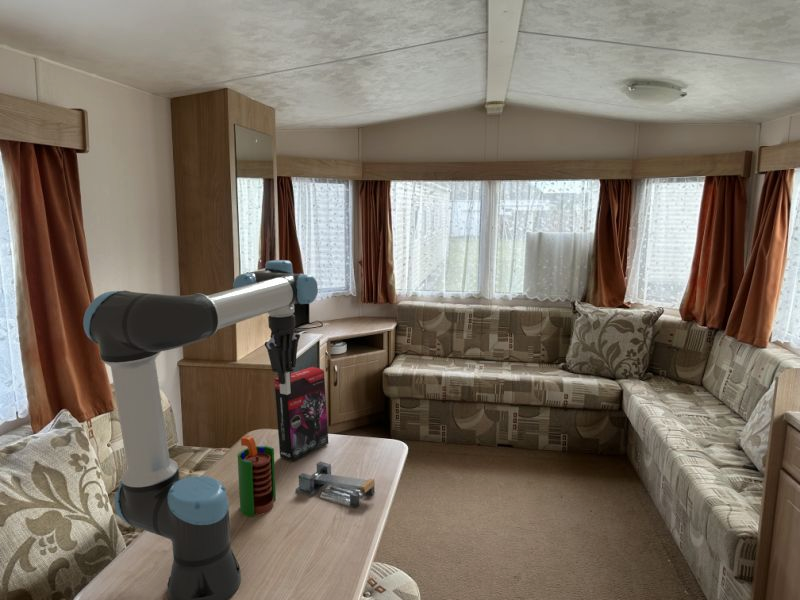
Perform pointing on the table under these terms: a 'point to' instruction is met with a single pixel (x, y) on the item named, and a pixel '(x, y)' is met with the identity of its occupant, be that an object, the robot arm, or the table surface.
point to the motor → (256, 478)
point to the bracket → (334, 493)
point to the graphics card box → (302, 414)
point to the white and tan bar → (343, 481)
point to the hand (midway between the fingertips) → (285, 393)
